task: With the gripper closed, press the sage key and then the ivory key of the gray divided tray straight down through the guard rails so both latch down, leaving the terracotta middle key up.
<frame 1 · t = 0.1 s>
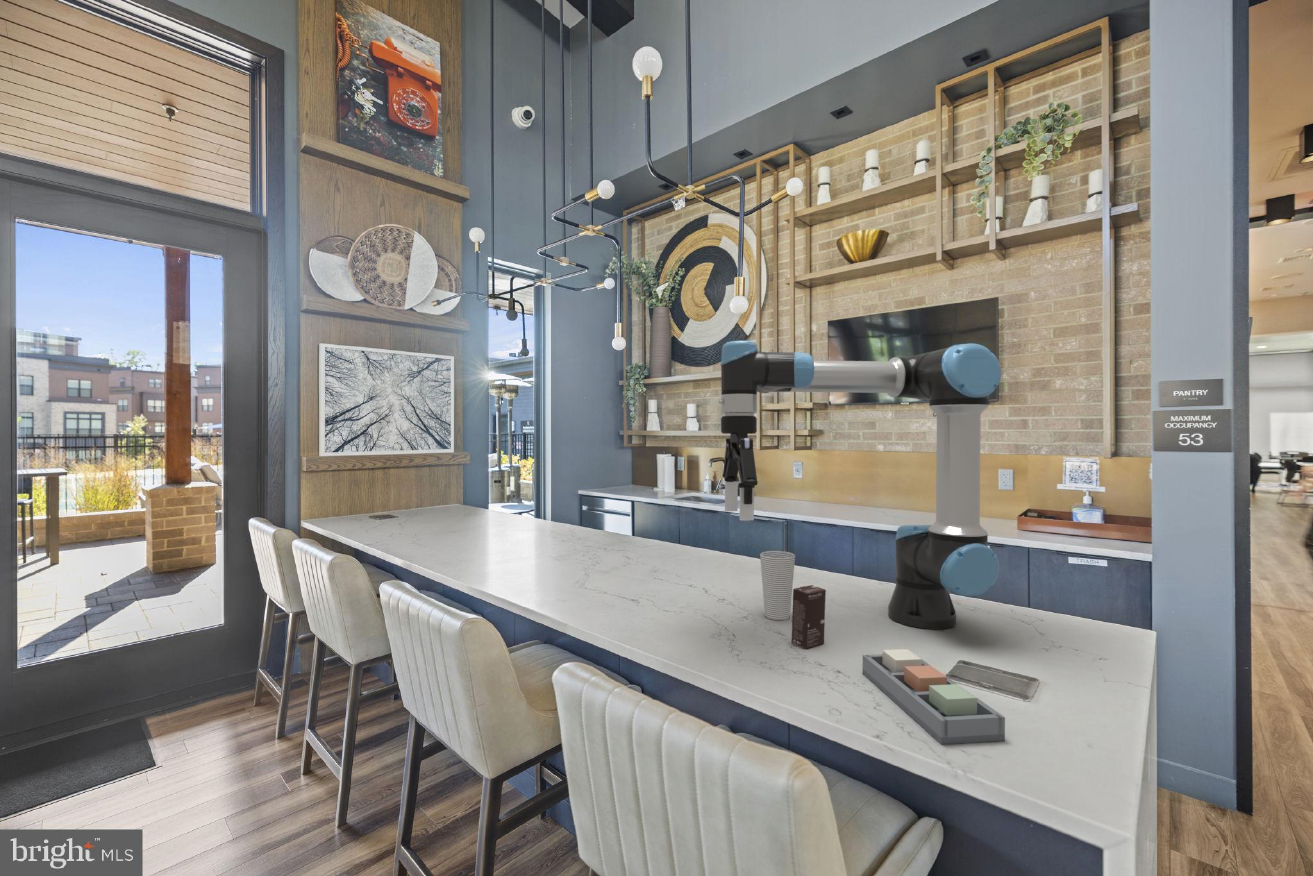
hand: (738, 515, 122), 28 cm above the counter, fingers open, 13 cm apart
key terracotta: (925, 679, 97), point 4 cm above the counter, slide at 0.0 cm
key sage: (952, 699, 90), point 4 cm above the counter, slide at 0.0 cm
box: (808, 645, 124), on the counter
key ivory: (901, 661, 105), point 4 cm above the counter, slide at 0.0 cm
cup: (777, 617, 143), on the counter
gray divided tray: (924, 703, 97), on the counter
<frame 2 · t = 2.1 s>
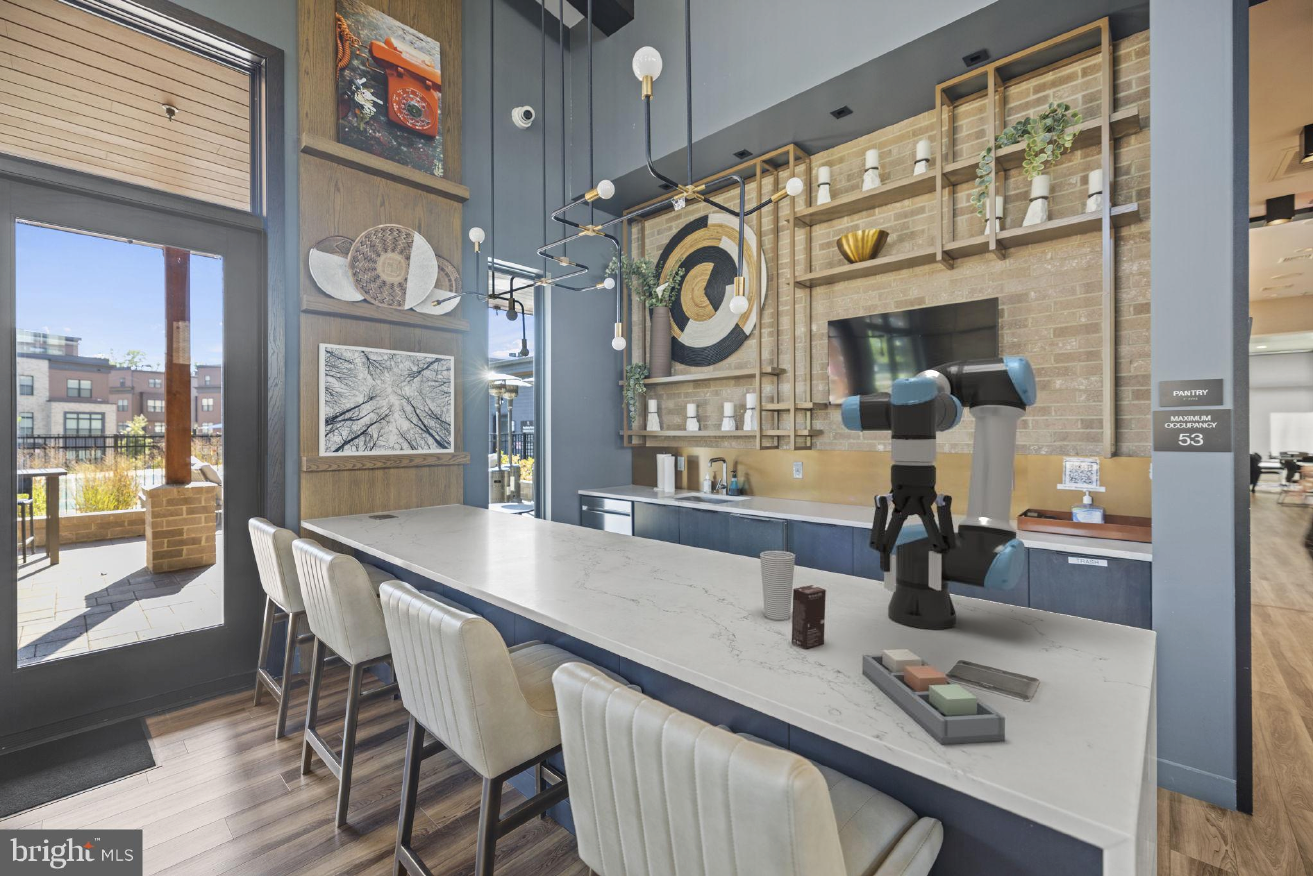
hand: (912, 588, 105), 17 cm above the counter, fingers open, 8 cm apart
nothing on the counter moved.
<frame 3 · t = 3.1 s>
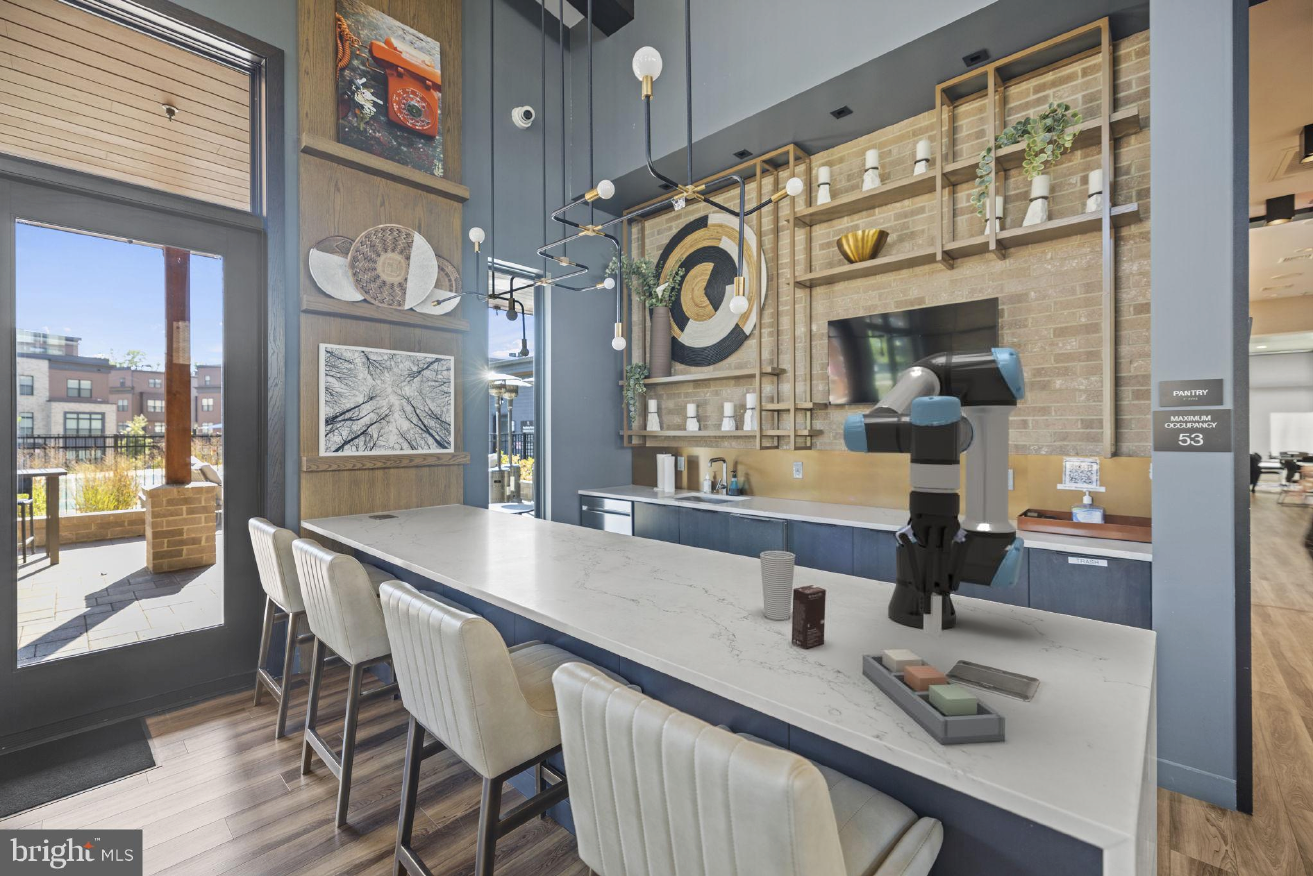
hand: (932, 633, 95), 13 cm above the counter, fingers closed
nothing on the counter moved.
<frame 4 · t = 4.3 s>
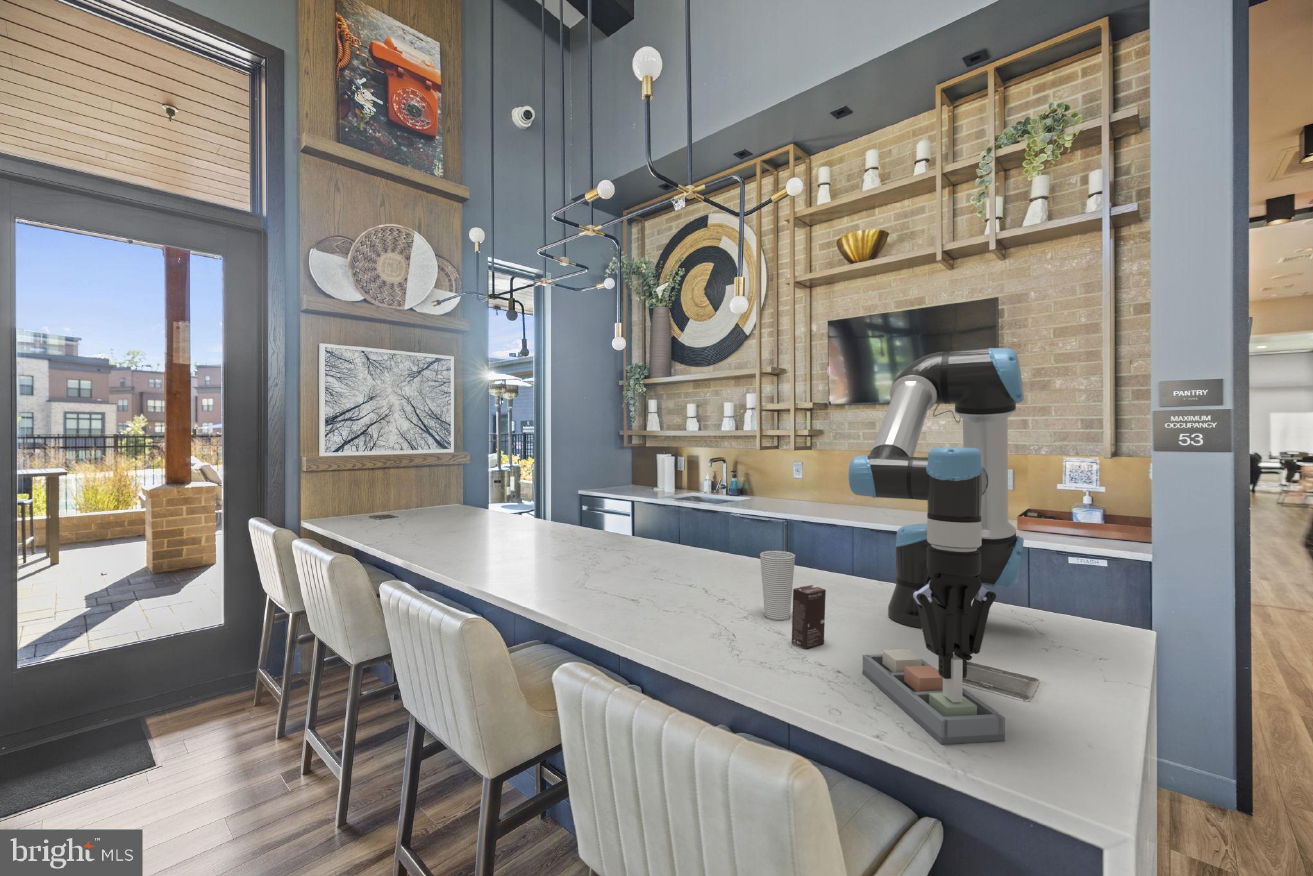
hand: (952, 698, 90), 4 cm above the counter, fingers closed
key sage: (952, 707, 90), point 3 cm above the counter, slide at 1.3 cm
everything else where it was.
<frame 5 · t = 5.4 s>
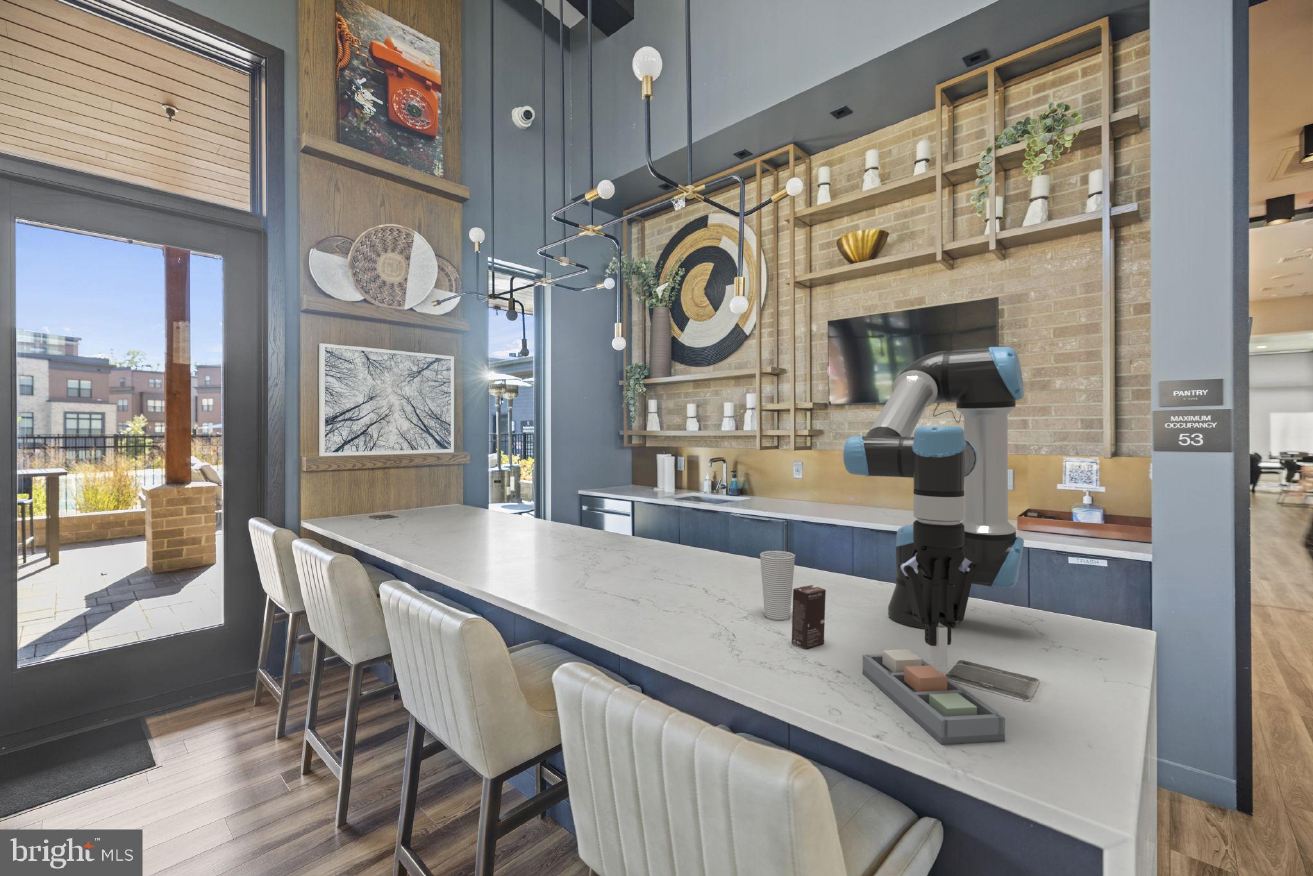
hand: (937, 664, 95), 8 cm above the counter, fingers closed
nothing on the counter moved.
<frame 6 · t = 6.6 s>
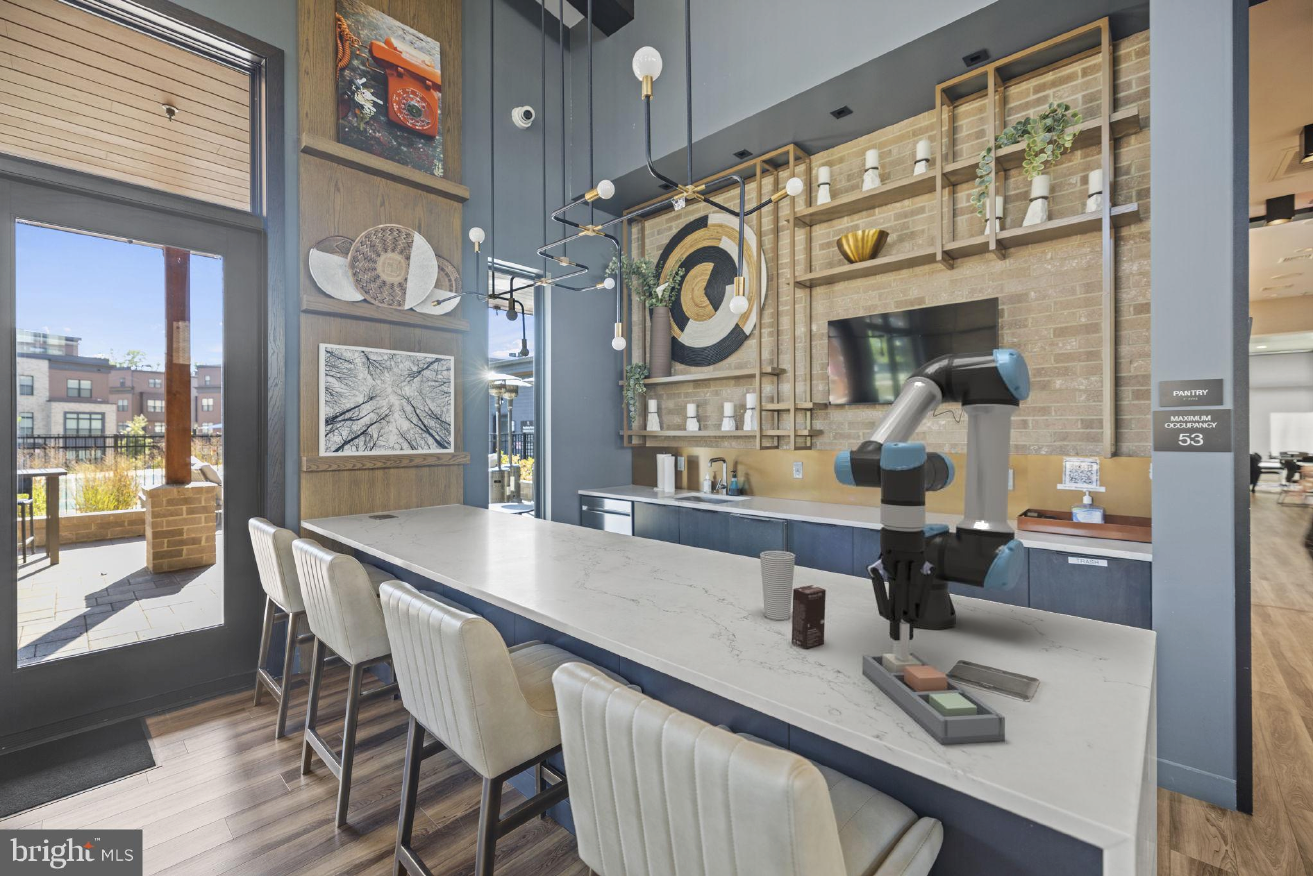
hand: (901, 657, 105), 5 cm above the counter, fingers closed
key ivory: (901, 665, 105), point 3 cm above the counter, slide at 0.7 cm
everything else where it was.
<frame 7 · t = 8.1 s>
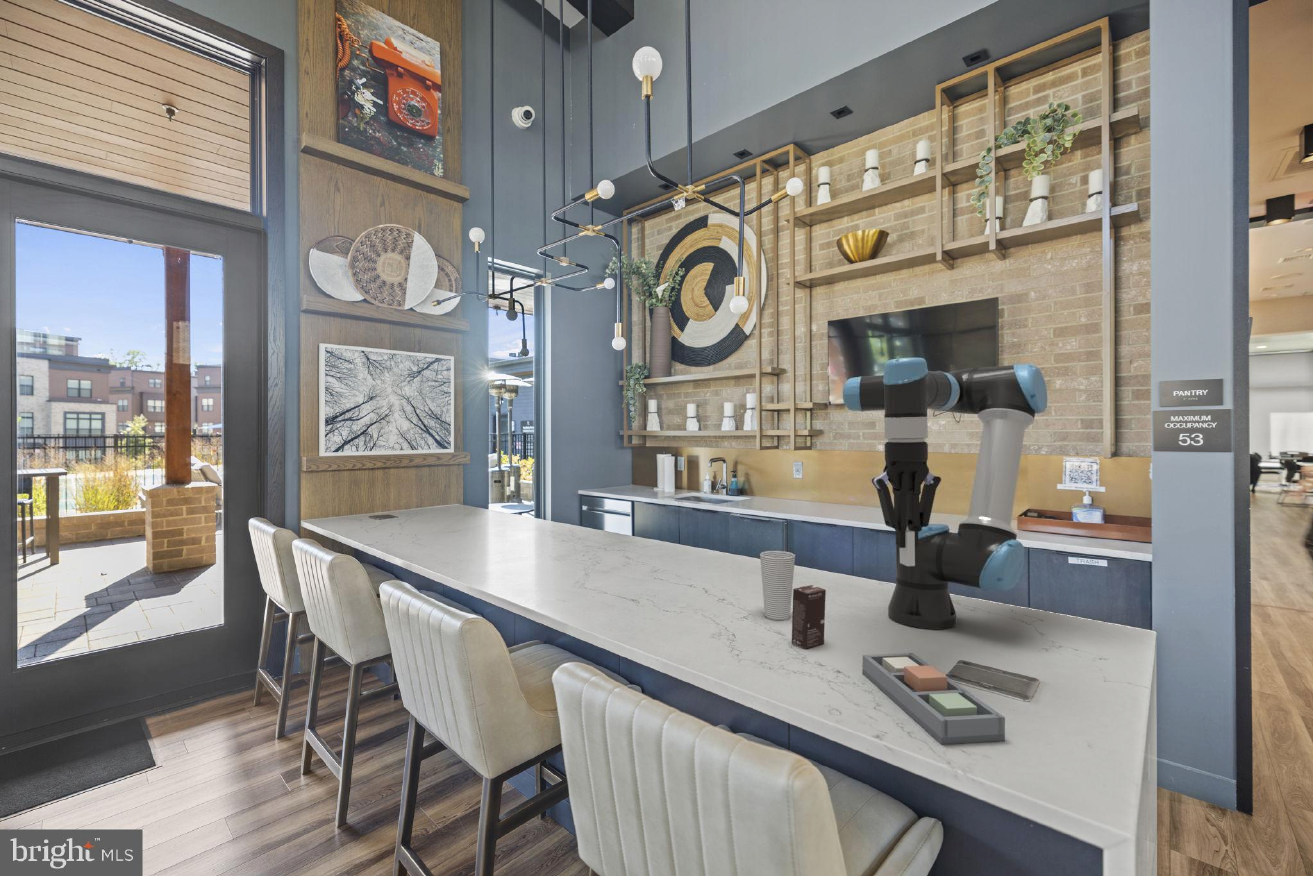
hand: (907, 564, 110), 21 cm above the counter, fingers closed
key ivory: (901, 669, 105), point 3 cm above the counter, slide at 1.4 cm
everything else where it was.
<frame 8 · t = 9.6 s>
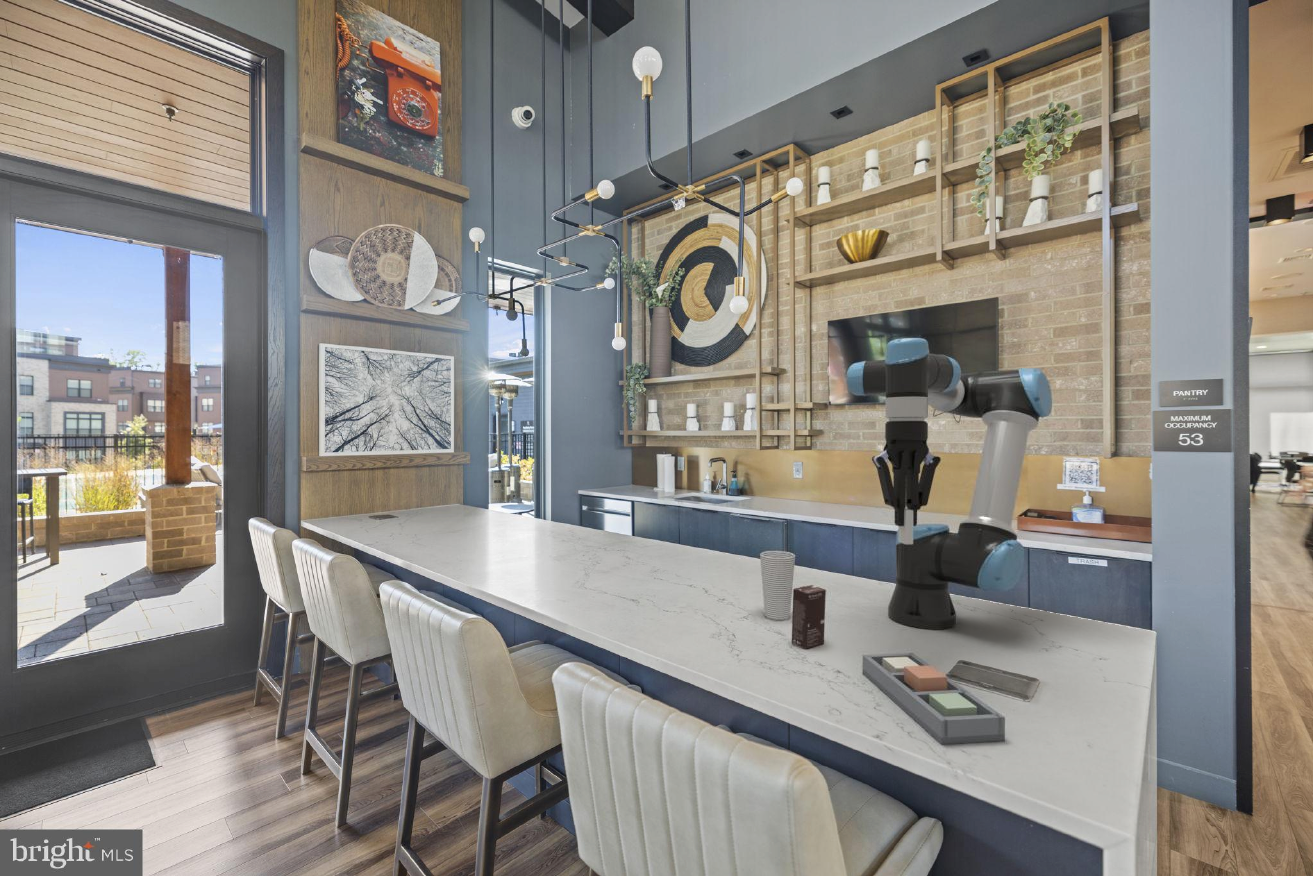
hand: (905, 542, 111), 24 cm above the counter, fingers closed
nothing on the counter moved.
at the end: key sage slide at 1.4 cm; key ivory slide at 1.4 cm; key terracotta slide at 0.0 cm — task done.
